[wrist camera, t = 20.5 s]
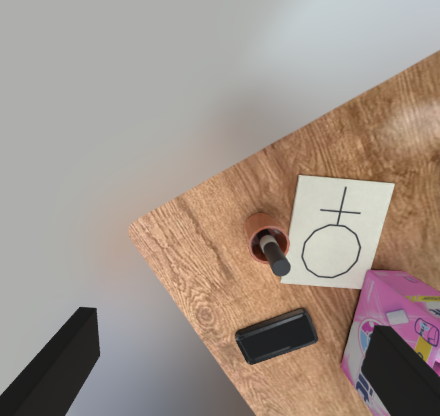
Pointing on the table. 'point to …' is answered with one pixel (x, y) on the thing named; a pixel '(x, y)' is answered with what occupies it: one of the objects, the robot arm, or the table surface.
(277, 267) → the marker
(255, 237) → the pen cup
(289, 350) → the phone
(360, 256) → the notepad
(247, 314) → the table surface
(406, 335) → the gum box
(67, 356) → the robot arm
